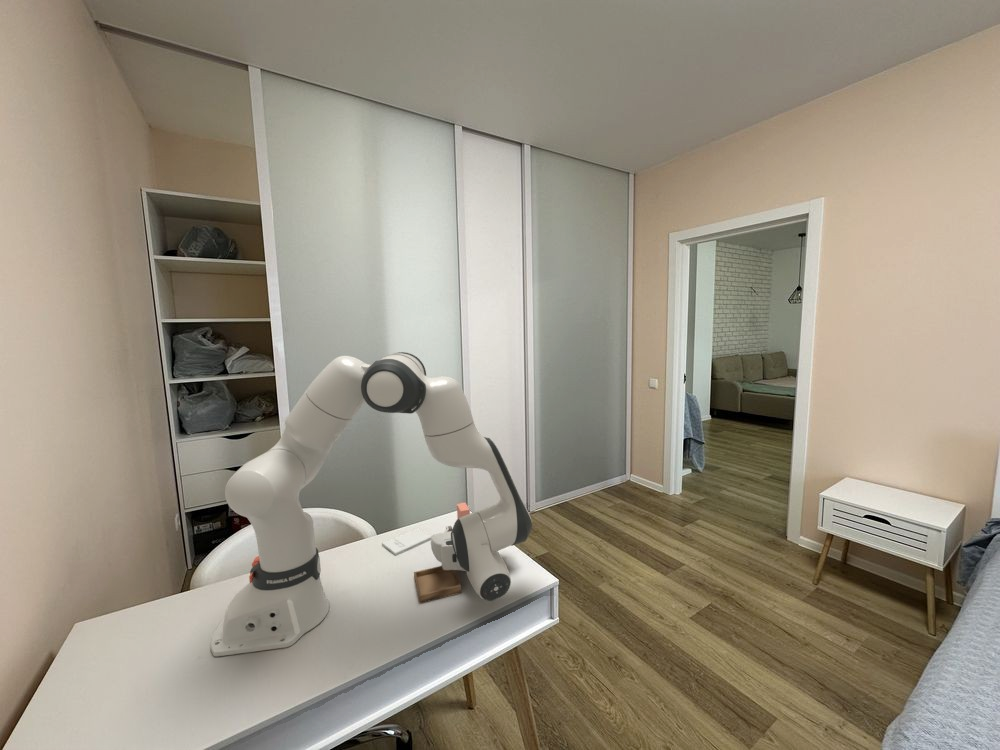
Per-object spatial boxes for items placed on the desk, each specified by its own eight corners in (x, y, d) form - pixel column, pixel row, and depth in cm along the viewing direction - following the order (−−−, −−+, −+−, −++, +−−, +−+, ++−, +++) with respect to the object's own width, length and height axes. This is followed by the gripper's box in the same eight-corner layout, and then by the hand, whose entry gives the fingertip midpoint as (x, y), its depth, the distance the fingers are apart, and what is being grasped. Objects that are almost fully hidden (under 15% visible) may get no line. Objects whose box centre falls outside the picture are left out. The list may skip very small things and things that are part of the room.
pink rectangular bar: (463, 559, 110) (460, 511, 109) (459, 550, 115) (456, 503, 113) (472, 557, 111) (469, 509, 109) (467, 548, 116) (465, 502, 114)
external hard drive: (432, 541, 122) (395, 558, 113) (418, 531, 128) (381, 547, 119) (432, 536, 122) (394, 552, 113) (417, 527, 128) (381, 542, 119)
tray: (419, 603, 93) (418, 596, 93) (414, 578, 102) (413, 572, 102) (461, 592, 96) (460, 585, 96) (452, 569, 106) (452, 563, 105)
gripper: (514, 530, 103) (497, 508, 116) (435, 547, 96) (426, 521, 109) (515, 553, 103) (498, 529, 116) (436, 571, 97) (428, 543, 110)
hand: (463, 525), depth 113 cm, fingers open, 7 cm apart
